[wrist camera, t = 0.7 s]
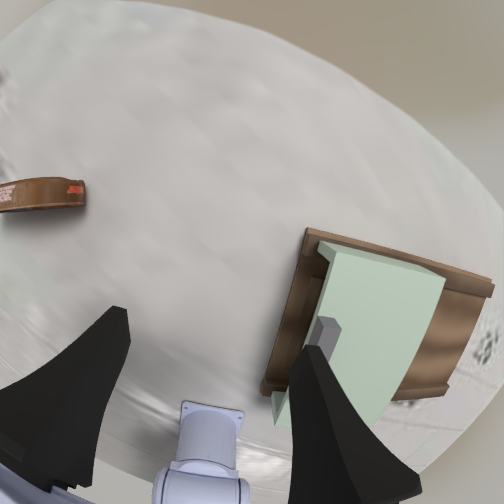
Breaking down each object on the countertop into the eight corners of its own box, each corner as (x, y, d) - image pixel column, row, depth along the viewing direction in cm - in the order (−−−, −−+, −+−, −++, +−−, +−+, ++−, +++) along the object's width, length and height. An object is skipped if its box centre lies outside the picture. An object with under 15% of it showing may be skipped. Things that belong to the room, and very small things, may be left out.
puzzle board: (437, 392, 33) (442, 398, 31) (260, 390, 31) (260, 398, 29) (489, 278, 29) (496, 281, 27) (307, 227, 27) (311, 229, 25)
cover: (360, 401, 29) (379, 438, 23) (270, 396, 29) (276, 440, 22) (419, 265, 26) (458, 285, 19) (320, 240, 25) (345, 258, 18)
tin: (13, 212, 25) (-32, 221, 17) (12, 188, 24) (-33, 192, 16) (99, 205, 26) (52, 212, 17) (99, 175, 25) (52, 173, 17)
